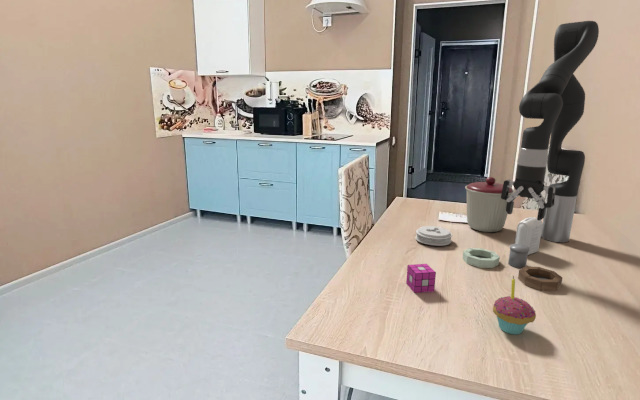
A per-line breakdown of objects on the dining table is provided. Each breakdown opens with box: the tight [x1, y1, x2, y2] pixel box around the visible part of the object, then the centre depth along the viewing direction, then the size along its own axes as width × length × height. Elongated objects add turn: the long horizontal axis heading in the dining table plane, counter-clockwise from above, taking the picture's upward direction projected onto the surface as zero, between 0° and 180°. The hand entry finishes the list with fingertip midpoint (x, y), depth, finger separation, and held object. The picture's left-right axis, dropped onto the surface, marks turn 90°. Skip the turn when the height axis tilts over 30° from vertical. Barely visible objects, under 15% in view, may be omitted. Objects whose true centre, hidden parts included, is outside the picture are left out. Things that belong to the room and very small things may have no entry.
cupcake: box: [492, 275, 537, 335], centre depth 86 cm, size 9×8×12 cm
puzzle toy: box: [405, 263, 437, 294], centre depth 105 cm, size 6×6×6 cm
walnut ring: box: [517, 266, 563, 292], centre depth 110 cm, size 10×10×2 cm
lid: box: [415, 225, 453, 247], centre depth 141 cm, size 13×13×5 cm
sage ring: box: [462, 247, 501, 269], centre depth 124 cm, size 10×10×2 cm
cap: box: [507, 243, 529, 269], centre depth 121 cm, size 5×5×6 cm
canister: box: [464, 176, 516, 233], centre depth 154 cm, size 18×18×21 cm
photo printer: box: [514, 216, 543, 256], centre depth 130 cm, size 10×4×12 cm, turn 123°
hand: (524, 216), depth 118 cm, fingers open, 8 cm apart
